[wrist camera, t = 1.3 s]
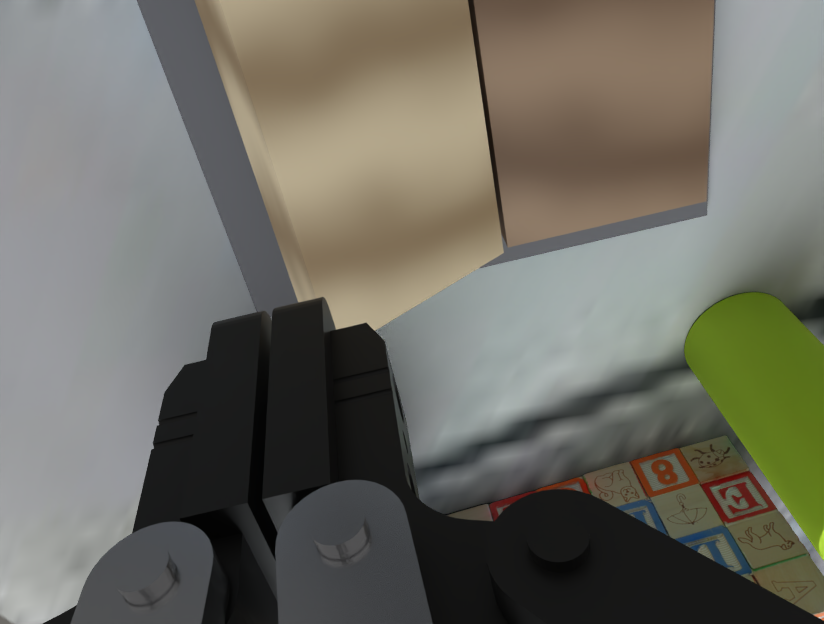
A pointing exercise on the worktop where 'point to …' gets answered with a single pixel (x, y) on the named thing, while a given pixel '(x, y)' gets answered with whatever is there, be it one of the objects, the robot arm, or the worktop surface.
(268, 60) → the oak plank
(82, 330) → the worktop surface
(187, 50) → the underlay mat
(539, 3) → the walnut plank
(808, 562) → the stack of blocks
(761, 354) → the soap dispenser
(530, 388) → the worktop surface
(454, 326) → the worktop surface
